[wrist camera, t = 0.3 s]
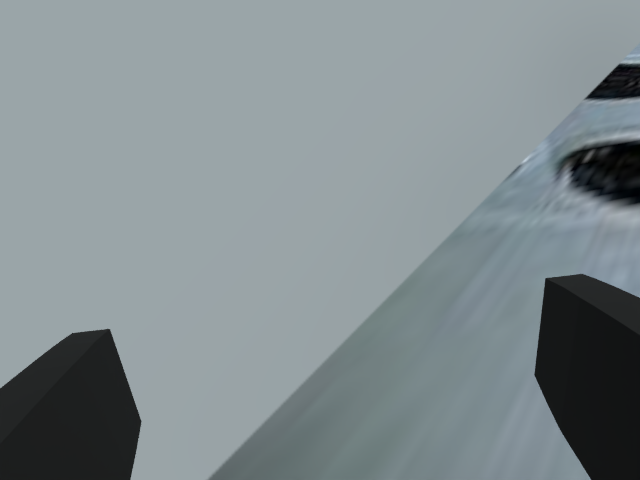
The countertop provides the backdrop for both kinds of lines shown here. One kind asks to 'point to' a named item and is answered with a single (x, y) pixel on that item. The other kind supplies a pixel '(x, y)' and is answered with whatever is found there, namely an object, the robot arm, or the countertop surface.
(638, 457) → the robot arm
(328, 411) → the countertop surface
